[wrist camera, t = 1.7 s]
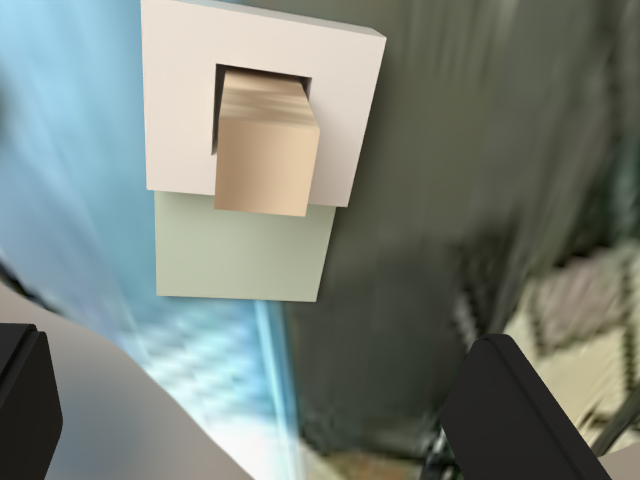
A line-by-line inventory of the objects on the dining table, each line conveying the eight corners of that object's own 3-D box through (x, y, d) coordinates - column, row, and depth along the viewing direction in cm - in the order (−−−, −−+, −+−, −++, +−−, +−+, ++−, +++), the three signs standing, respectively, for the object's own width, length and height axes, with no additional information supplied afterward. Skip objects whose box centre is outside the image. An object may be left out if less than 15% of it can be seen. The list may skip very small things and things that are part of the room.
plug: (296, 72, 26) (320, 131, 18) (287, 137, 28) (305, 216, 20) (227, 62, 25) (219, 118, 17) (222, 129, 28) (213, 209, 19)
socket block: (370, 27, 26) (386, 37, 23) (337, 182, 31) (347, 207, 28) (153, -12, 24) (140, -6, 21) (156, 164, 29) (146, 189, 26)
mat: (334, 195, 32) (337, 202, 31) (313, 293, 36) (315, 301, 36) (156, 178, 29) (154, 185, 28) (158, 286, 34) (156, 295, 33)
